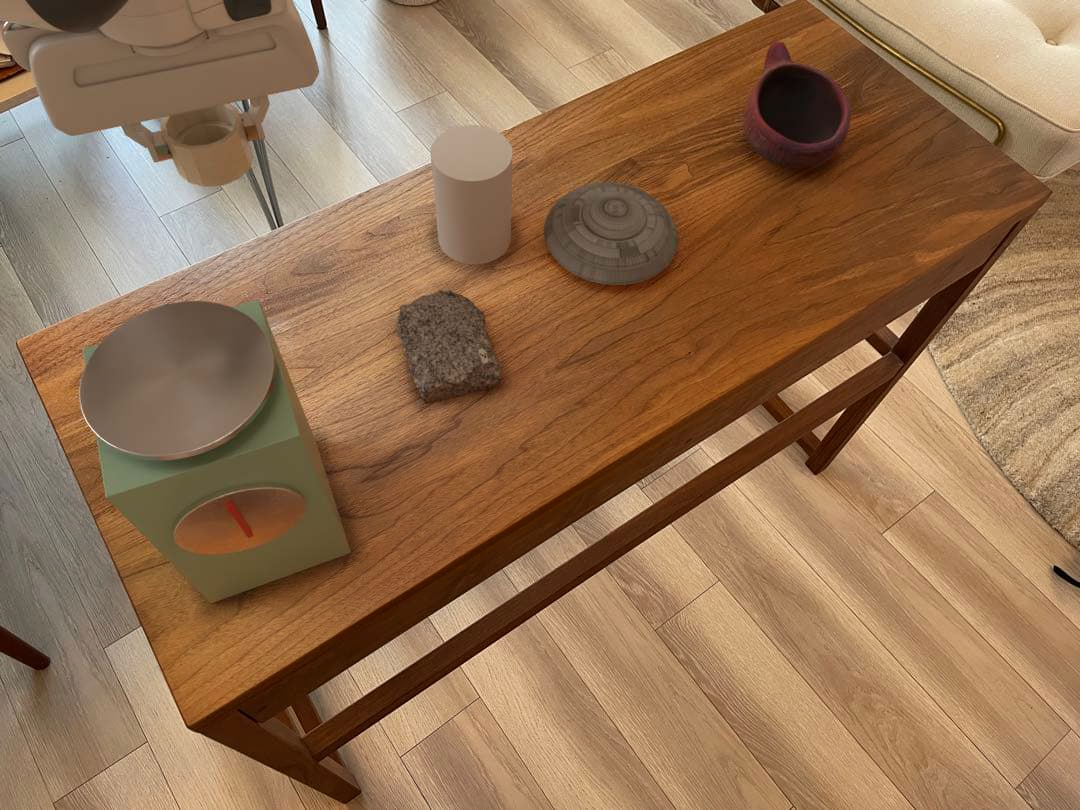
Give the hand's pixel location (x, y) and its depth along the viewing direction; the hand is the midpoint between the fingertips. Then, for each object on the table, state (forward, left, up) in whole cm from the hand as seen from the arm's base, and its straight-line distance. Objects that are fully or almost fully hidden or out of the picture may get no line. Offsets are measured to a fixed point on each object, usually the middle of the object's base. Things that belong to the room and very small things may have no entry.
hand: (210, 145), depth 67 cm
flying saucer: (+37, -6, -20) cm, 43 cm away
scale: (-6, -25, -19) cm, 33 cm away
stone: (+15, -14, -20) cm, 29 cm away
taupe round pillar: (+23, 0, -20) cm, 30 cm away
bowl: (+64, +2, -20) cm, 67 cm away
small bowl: (0, 0, -2) cm, 2 cm away
